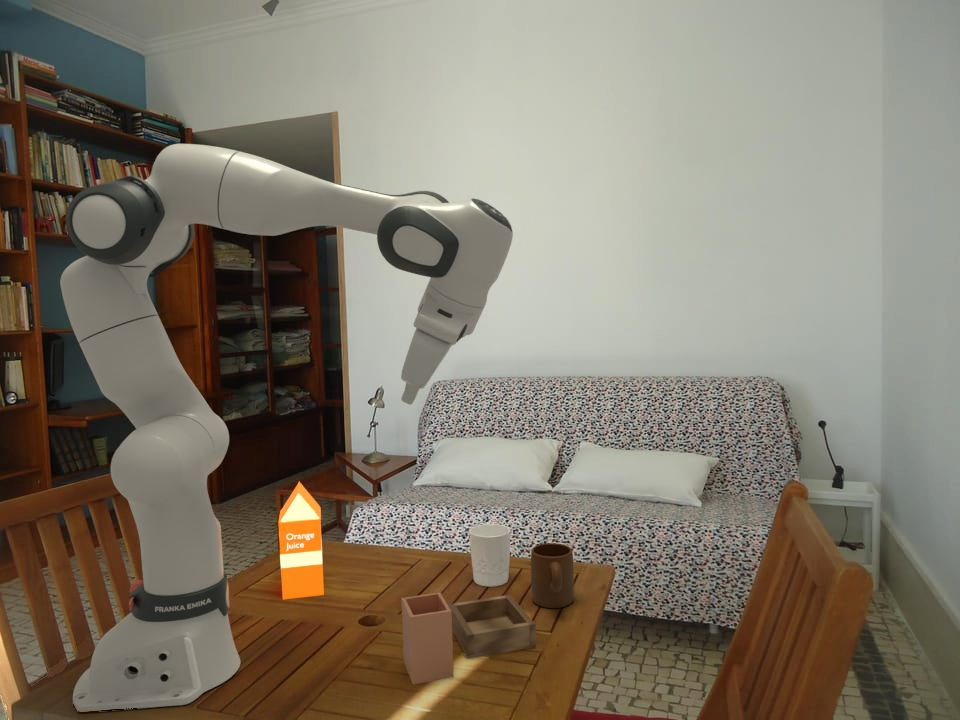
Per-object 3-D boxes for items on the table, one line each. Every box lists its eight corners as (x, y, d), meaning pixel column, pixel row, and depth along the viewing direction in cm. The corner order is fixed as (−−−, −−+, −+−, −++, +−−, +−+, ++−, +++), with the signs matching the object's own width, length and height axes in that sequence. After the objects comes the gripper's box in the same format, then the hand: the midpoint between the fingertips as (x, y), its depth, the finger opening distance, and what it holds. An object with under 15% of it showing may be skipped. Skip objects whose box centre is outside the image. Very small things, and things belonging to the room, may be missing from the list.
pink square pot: (413, 684, 104) (410, 617, 103) (403, 661, 110) (401, 598, 110) (453, 677, 105) (451, 610, 105) (442, 655, 112) (440, 592, 111)
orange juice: (281, 599, 135) (276, 494, 133) (283, 581, 143) (278, 482, 141) (324, 594, 136) (319, 490, 135) (324, 577, 145) (319, 479, 143)
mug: (580, 619, 123) (579, 566, 122) (535, 621, 123) (534, 567, 122) (570, 591, 135) (569, 541, 134) (529, 592, 135) (528, 543, 134)
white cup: (486, 569, 147) (484, 521, 146) (519, 577, 142) (518, 527, 141) (462, 582, 140) (461, 532, 139) (496, 591, 136) (495, 539, 135)
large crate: (468, 660, 111) (467, 635, 110) (449, 627, 122) (448, 604, 122) (535, 648, 114) (535, 624, 114) (510, 617, 125) (510, 594, 125)
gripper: (443, 287, 116) (411, 361, 120) (413, 318, 96) (377, 405, 101) (479, 304, 116) (446, 377, 120) (456, 338, 96) (418, 424, 101)
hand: (414, 390), depth 111 cm, fingers open, 8 cm apart
